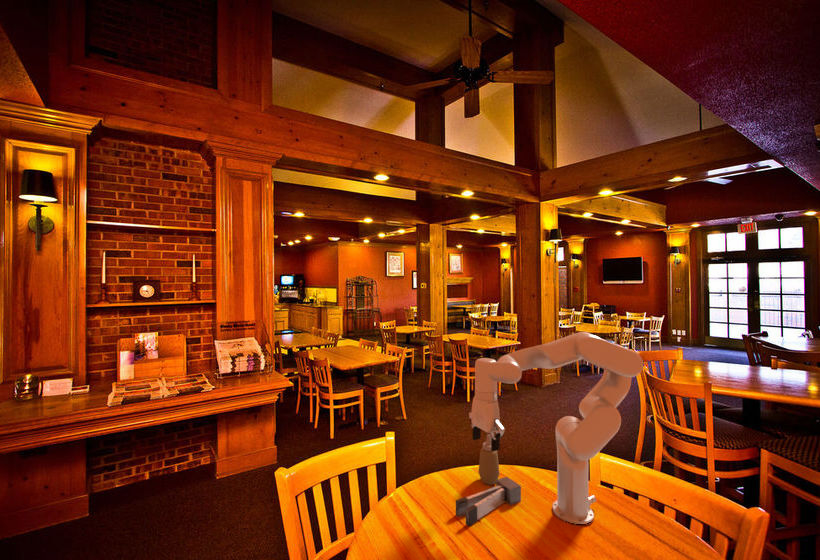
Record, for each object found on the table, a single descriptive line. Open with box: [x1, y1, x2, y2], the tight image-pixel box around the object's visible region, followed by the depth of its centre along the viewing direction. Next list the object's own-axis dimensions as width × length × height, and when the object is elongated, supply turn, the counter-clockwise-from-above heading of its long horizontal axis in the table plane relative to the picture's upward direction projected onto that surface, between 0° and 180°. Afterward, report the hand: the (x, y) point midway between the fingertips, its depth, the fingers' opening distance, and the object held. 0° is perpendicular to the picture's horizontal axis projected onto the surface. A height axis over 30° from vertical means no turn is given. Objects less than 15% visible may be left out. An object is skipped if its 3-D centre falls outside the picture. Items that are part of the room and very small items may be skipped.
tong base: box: [455, 476, 522, 518], centre depth 128 cm, size 24×7×6 cm, turn 119°
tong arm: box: [465, 488, 506, 527], centre depth 124 cm, size 19×1×5 cm, turn 130°
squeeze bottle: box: [478, 434, 500, 486], centre depth 144 cm, size 8×8×18 cm
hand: (485, 444), depth 128 cm, fingers open, 9 cm apart
